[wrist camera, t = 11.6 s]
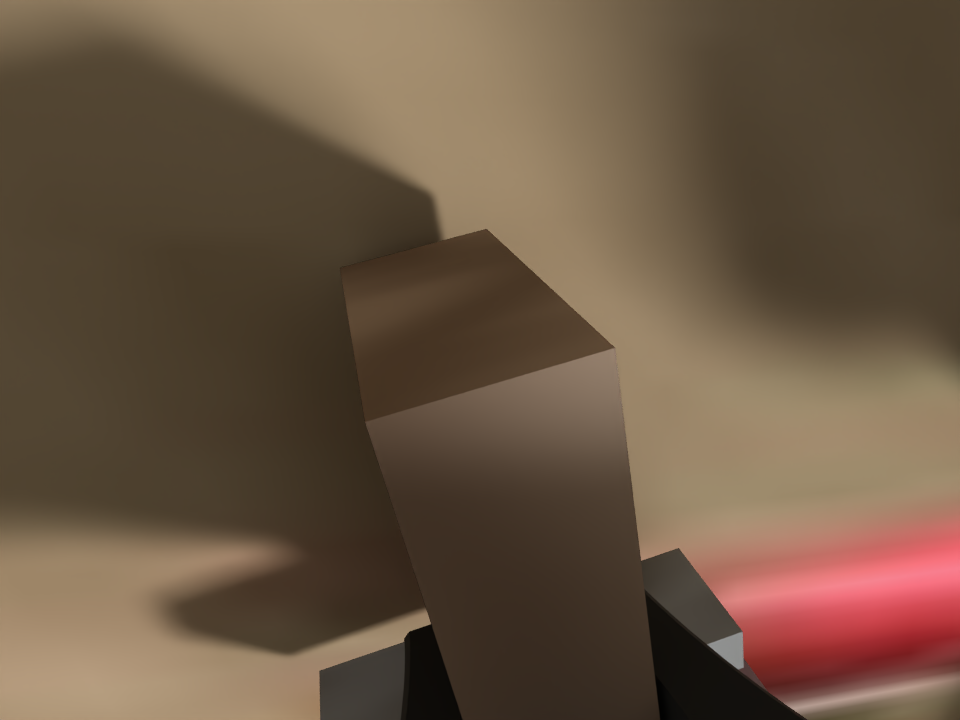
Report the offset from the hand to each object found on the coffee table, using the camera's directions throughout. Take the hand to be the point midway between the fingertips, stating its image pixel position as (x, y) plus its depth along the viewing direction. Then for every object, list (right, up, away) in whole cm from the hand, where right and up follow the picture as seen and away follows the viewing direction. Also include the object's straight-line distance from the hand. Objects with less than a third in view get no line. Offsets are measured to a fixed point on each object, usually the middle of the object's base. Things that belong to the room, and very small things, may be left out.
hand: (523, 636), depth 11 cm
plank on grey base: (-1, +3, +1) cm, 3 cm away
